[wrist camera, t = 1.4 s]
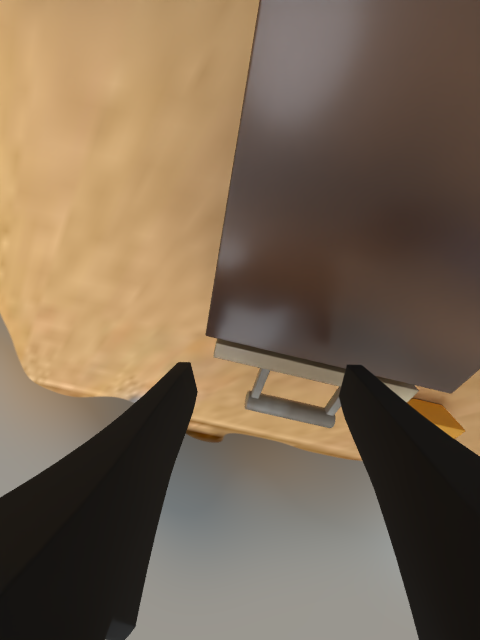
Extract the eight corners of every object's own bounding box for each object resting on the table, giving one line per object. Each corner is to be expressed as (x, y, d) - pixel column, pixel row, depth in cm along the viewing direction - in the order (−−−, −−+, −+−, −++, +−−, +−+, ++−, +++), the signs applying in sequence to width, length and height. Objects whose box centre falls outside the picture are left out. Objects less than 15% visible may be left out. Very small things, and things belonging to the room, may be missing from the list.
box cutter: (442, 404, 22) (470, 435, 19) (426, 418, 23) (450, 449, 20) (367, 387, 22) (383, 415, 19) (354, 402, 23) (368, 430, 20)
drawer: (342, 384, 21) (368, 441, 16) (217, 355, 20) (203, 404, 15) (491, 172, 12) (666, 146, 7) (270, 111, 11) (277, 35, 6)
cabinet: (382, 326, 18) (451, 394, 12) (225, 287, 18) (205, 335, 11) (536, 104, 11) (971, -57, 4) (276, 29, 10) (304, -280, 4)
